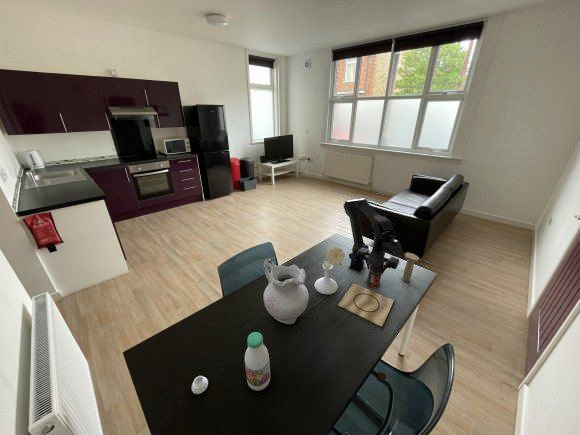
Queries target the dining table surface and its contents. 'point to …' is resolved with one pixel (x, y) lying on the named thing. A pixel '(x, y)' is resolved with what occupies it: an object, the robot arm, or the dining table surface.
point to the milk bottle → (257, 362)
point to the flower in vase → (326, 283)
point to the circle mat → (367, 304)
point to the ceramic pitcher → (285, 292)
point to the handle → (409, 266)
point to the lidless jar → (199, 384)
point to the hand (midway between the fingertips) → (375, 271)
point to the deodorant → (374, 276)
